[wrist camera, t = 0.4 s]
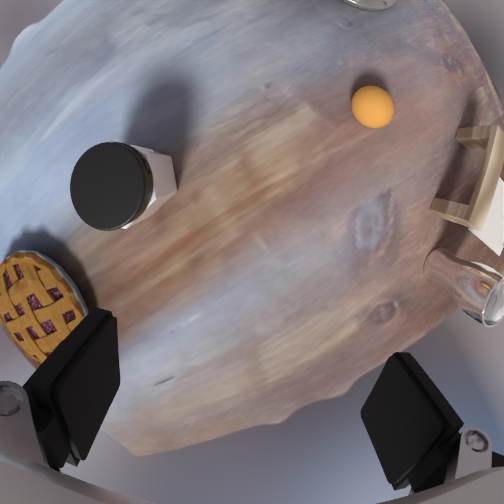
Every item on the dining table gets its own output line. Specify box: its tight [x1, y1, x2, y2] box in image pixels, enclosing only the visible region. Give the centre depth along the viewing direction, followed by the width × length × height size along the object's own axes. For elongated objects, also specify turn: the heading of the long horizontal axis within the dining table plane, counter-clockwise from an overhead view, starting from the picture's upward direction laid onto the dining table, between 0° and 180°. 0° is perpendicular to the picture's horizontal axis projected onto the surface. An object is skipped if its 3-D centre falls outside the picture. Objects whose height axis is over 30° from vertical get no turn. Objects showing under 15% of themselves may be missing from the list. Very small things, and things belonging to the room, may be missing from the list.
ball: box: [351, 86, 395, 128], centre depth 30 cm, size 6×6×6 cm
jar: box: [70, 141, 177, 231], centre depth 29 cm, size 9×8×12 cm
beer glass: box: [424, 247, 504, 328], centre depth 32 cm, size 7×7×15 cm
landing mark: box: [468, 177, 504, 256], centre depth 37 cm, size 12×12×1 cm
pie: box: [0, 249, 89, 365], centre depth 37 cm, size 22×22×5 cm
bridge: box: [430, 125, 504, 231], centre depth 30 cm, size 3×14×9 cm, turn 156°
